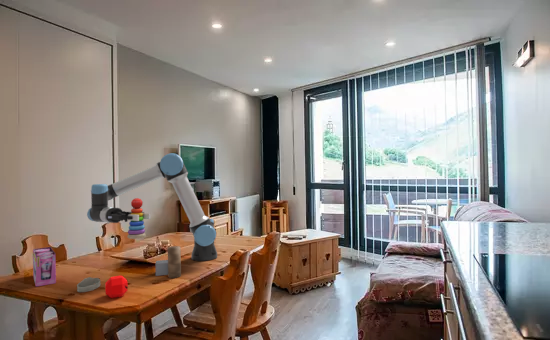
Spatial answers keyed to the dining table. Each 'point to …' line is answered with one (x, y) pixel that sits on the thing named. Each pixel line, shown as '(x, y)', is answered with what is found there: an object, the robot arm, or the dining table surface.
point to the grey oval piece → (88, 284)
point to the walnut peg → (174, 262)
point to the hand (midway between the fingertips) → (144, 217)
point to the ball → (116, 286)
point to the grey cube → (161, 267)
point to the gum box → (44, 266)
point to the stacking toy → (136, 227)
